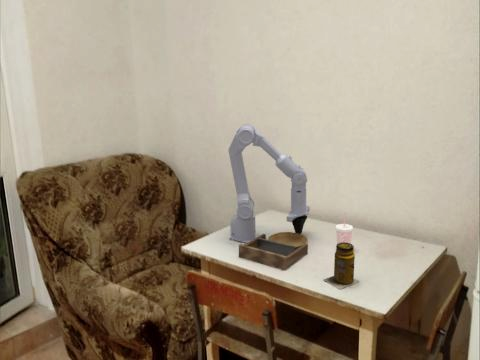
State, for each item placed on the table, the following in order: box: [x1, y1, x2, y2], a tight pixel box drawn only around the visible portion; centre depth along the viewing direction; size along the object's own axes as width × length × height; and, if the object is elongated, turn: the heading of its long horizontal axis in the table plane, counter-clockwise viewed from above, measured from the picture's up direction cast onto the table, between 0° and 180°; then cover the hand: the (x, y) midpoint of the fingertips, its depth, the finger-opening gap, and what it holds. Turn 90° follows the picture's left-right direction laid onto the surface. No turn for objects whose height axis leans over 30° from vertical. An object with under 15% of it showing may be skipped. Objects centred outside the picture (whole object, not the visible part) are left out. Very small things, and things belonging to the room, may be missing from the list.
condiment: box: [323, 242, 360, 290], centre depth 141 cm, size 7×8×12 cm
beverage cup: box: [335, 213, 354, 245], centre depth 163 cm, size 6×6×14 cm
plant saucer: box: [267, 231, 309, 249], centre depth 169 cm, size 15×15×3 cm
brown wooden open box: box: [238, 233, 309, 271], centre depth 161 cm, size 19×16×4 cm
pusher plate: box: [257, 238, 297, 256], centre depth 163 cm, size 16×1×4 cm, turn 54°
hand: (298, 233), depth 175 cm, fingers closed
